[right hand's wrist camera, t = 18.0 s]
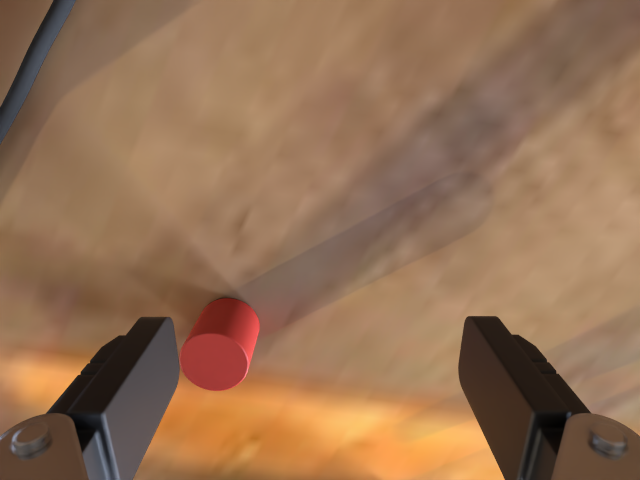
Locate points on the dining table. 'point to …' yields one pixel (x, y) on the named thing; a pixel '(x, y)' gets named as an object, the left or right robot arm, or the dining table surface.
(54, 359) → the dining table surface
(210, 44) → the dining table surface
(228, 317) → the cylinder
